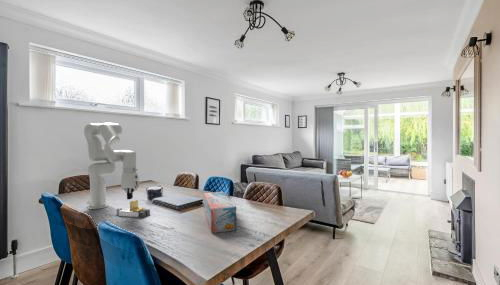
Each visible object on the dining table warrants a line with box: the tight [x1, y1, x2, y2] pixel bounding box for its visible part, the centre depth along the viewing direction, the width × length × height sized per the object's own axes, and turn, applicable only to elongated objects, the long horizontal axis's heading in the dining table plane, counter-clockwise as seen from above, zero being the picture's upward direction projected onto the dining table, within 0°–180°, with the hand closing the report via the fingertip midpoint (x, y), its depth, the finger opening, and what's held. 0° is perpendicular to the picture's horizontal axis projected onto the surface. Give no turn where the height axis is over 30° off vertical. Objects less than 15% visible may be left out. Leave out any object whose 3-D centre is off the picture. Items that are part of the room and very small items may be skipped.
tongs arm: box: [116, 208, 147, 219], centre depth 156 cm, size 22×5×3 cm, turn 76°
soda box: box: [203, 191, 237, 234], centre depth 145 cm, size 41×14×13 cm, turn 16°
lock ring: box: [129, 199, 146, 212], centre depth 156 cm, size 6×7×6 cm
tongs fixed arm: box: [122, 207, 151, 217], centre depth 158 cm, size 18×3×3 cm, turn 77°
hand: (129, 198), depth 157 cm, fingers closed
